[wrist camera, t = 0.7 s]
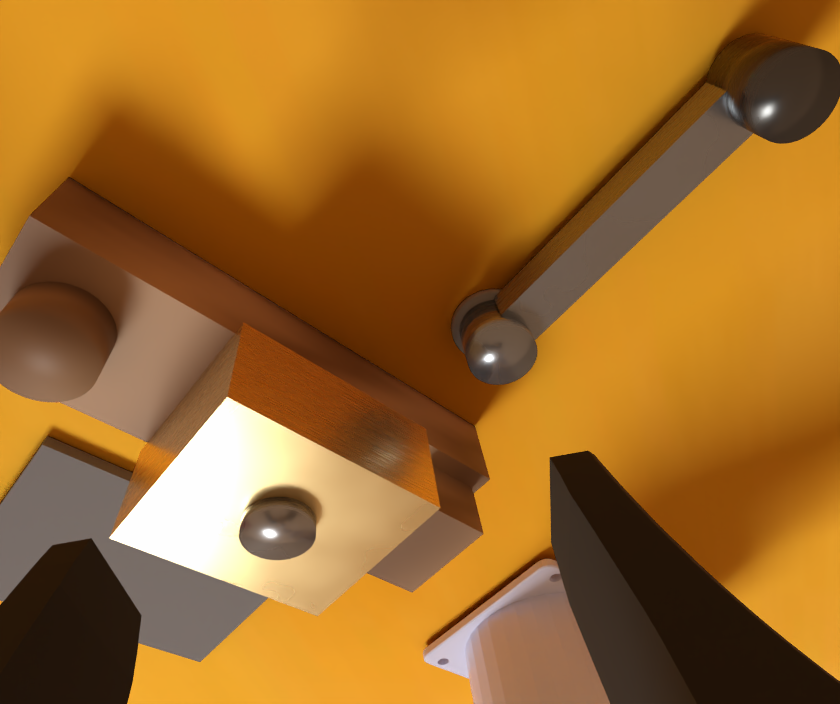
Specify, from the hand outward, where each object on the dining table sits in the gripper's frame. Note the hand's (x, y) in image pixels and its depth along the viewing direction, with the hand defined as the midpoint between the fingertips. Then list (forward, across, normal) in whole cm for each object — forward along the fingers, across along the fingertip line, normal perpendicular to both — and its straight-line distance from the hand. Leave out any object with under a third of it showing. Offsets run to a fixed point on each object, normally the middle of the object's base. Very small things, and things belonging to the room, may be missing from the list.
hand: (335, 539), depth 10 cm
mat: (+10, +10, +10) cm, 17 cm away
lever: (+9, -8, 0) cm, 12 cm away
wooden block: (+7, +2, +4) cm, 8 cm away
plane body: (+9, +1, +1) cm, 10 cm away
